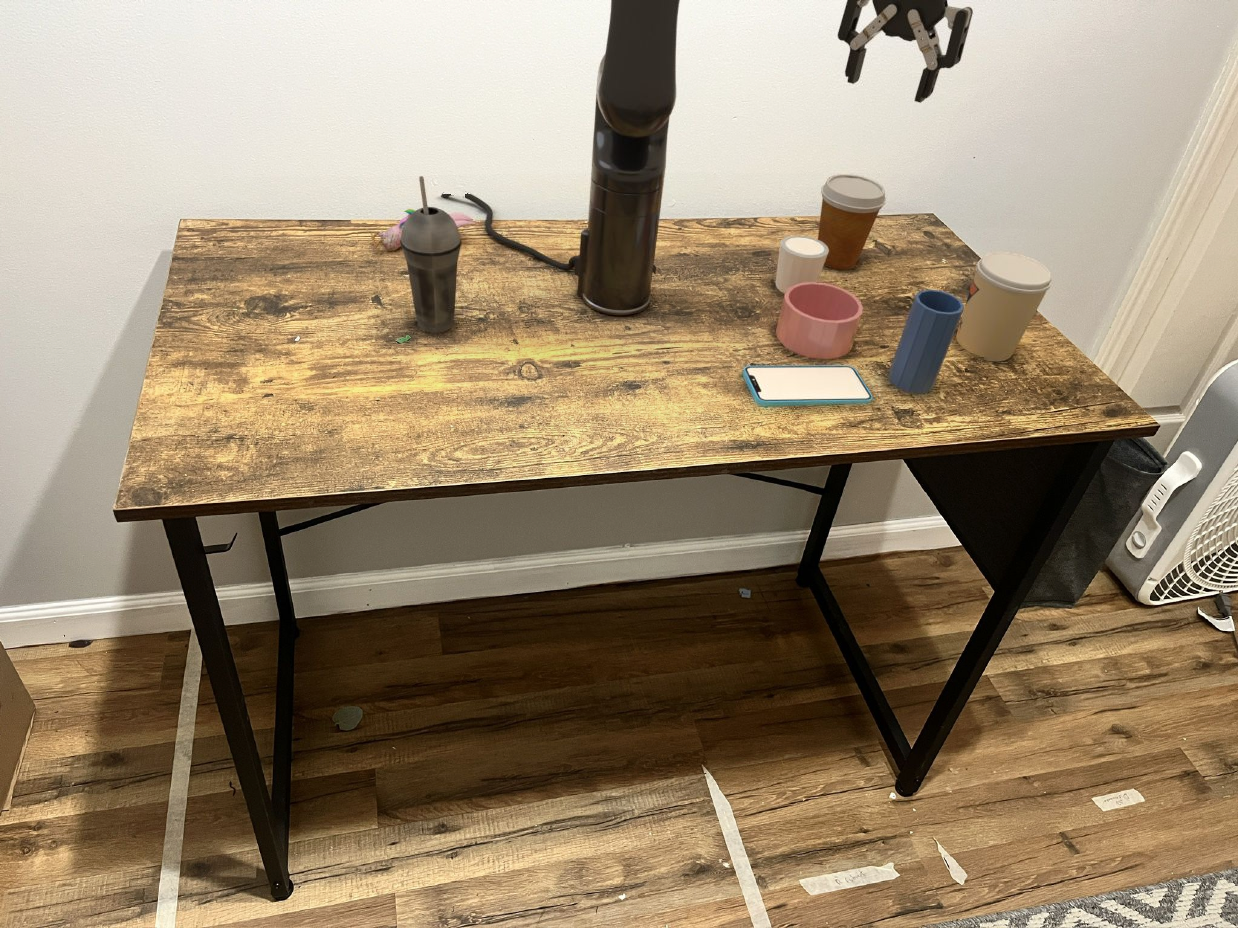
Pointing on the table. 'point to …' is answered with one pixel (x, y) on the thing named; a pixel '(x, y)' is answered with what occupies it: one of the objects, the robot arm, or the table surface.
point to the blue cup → (925, 341)
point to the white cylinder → (799, 261)
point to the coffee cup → (1001, 304)
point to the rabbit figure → (393, 234)
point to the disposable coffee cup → (848, 217)
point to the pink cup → (818, 320)
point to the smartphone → (806, 385)
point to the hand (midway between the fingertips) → (885, 91)
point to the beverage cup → (432, 264)
